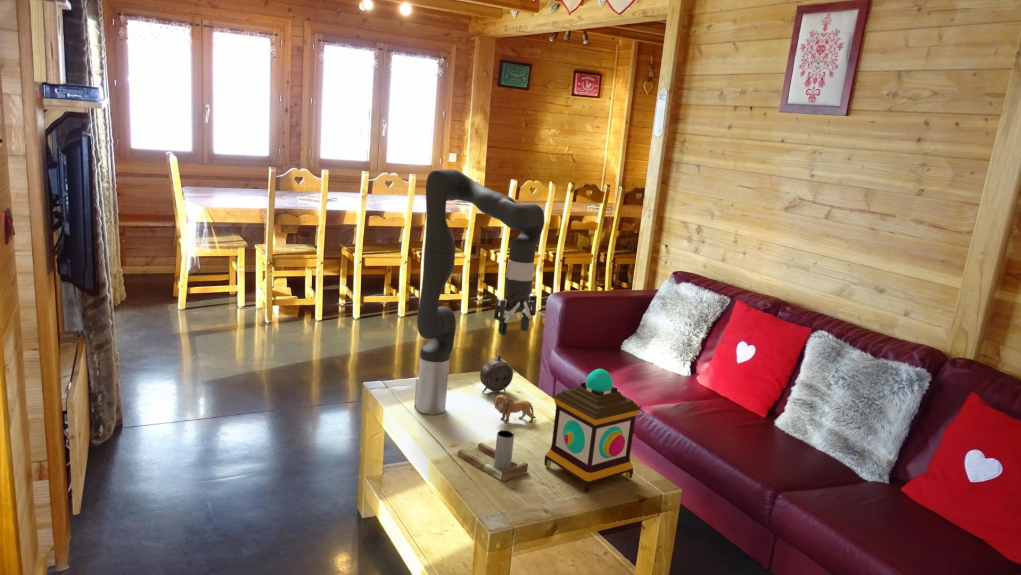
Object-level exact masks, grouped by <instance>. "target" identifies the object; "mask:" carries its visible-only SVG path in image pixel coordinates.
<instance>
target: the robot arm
mask: <svg viewBox="0 0 1021 575" xmlns="http://www.w3.org/2000/svg"><path fill="white" fill-rule="evenodd" d="M448 201H449V202H450V201H451V202H452V201H453V202H454V201H464V202H467V203H470V204H473V206H475V207H476V208H477V209H478V210H479V211H480V212H481V213H483V214H485V215H487V216H489V217H492V218H494V219H497V220H499V221H500V222H501V223H503V225H505V226H507V227H508V228H510V229H511V230H515V231H520V233H519V235H518V236H517V237H515V238H513V239H511V242H510V245H509V253H508V261H507V267H506V271H505V272H506V273H505V283H504V292H505V294H506V295H505V297H504V298H499V297H498V298H497V299H496V300H495V301H496V302H495V308H494V315H493V319H494V320H496V321H498V323H499V324H498V333H499V335H500V336H507V334H508V332H507V331H508V325H509V324H508V321H509V319H511V317H513V316H514V314H518V313H520V314H521V316H522V317H521V320H520V331H522V332H528V330H529V325H530V319H531V318H532V317H534V316H536V312H537V302H538V301H537V298H538V296H537V295H535V294H533V293H532V292H533V284H534V283H533V282H534V272H535V257H536V249H537V245H538V242H539V240H540V238H541V235H542V232H543V230H544V226H545V214H544V213H545V212H544V210H543V208H542V207H541V206H540V205H538V204H536V203H534V204H533V203H526V204H520V203H516V201H515V199H513V197H510V196H508V195H507V194H503V193H501V192H499V191H497V190H493V189H491V188H488V187H486V186H484V185H482V184H480V183H478V182H477V181H475V180H473V179H472V178H470V177H469V176H468V175H466V174H464V173H463V172H461V171H459V170H457V169H452V168H451V169H449V168H445V169H444V168H443V169H442V168H440V169H439V168H436V169H435V168H434V169H432V170H431V171H430V172H429V173H428V175H427V177H426V182H425V204H426V206H425V210H426V211H425V212H426V216H425V217H426V218H425V219H426V220H425V222H426V223H425V242H424V249H423V251H424V252H423V253H424V254H423V268H422V270H423V272H422V283H421V291H420V298H419V303H418V309H417V316H416V326H417V328H416V329H417V332H418V333H419V335H420V336H421V338H423V339H425V340H429V341H428V342H426V343H425V344H424V345H423V346H421V348H420V352H419V363H418V376H417V378H416V379H415V388H414V389H415V391H414V402H413V403H414V407H415V406H416V407H415V409H416V411H417V410H418V411H417V412H419V413H421V414H424V415H431V416H432V415H433V416H434V415H440V414H443V413H444V412H446V407H447V406H446V404H447V394H448V392H447V391H448V380H449V369H450V356H451V353H452V351H453V349H454V342H455V336H456V335H455V334H456V327H457V325H456V324H457V322H456V315H455V313H454V311H453V309H451V307H448V306H445V305H444V306H439V301H440V297H441V293H442V291H443V289H444V287H445V285H446V284H447V282H448V281H449V279H450V276H451V275H452V273H453V271H454V268H455V260H456V259H455V258H456V242H455V240H454V239H455V238H454V237H453V234H452V232H451V229H450V228H449V224H448V223H447V215H446V214H447V213H446V211H447V210H446V209H447V202H448Z"/></svg>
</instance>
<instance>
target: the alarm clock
mask: <svg viewBox="0 0 1021 575" xmlns="http://www.w3.org/2000/svg"><path fill="white" fill-rule="evenodd" d="M499 350H502V351H503V352H502V355H497V352H498V351H499ZM504 354H505V350H504V349H503V347H499V348H497V349H496V350H495V357H494V358H490V360H489V359H488V361H487V362H485V364H483V366H482V368H481V370H480V373H479V379H480V381H481V384H482V385H483V386H484V389H483V391H482V394H484V393H485V391H486V390H489V391H492V392H496V395H497V396H498V395H500V392H501V391H502V390H503V391H504V392H505V391H506V388H507V387H508V386H510V384H511V383H512V381H513V379H514V378H513V377H514V370H513V367H512V365H511V364H510V363H508V362H507V360H505V359H503V358H502V357H503V356H504Z"/></svg>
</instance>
